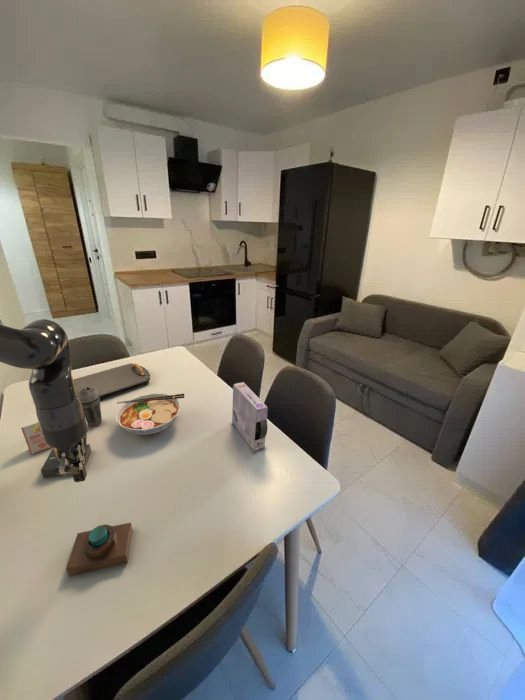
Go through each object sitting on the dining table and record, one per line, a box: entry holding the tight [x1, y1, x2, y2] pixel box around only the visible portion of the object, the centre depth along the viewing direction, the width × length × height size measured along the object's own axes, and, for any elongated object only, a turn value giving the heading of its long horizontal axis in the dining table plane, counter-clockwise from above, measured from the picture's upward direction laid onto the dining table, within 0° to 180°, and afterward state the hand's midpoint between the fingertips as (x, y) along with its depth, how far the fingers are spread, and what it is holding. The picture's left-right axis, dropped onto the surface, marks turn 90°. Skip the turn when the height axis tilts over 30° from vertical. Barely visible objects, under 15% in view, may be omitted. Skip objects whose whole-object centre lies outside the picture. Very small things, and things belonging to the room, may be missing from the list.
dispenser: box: [65, 522, 134, 578], centre depth 68 cm, size 12×8×5 cm, turn 104°
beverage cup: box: [78, 379, 103, 428], centre depth 107 cm, size 7×7×20 cm
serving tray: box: [73, 363, 151, 398], centre depth 134 cm, size 39×23×6 cm, turn 133°
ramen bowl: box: [115, 393, 185, 436], centre depth 109 cm, size 25×23×8 cm
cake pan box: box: [231, 381, 269, 452], centre depth 104 cm, size 19×5×18 cm, turn 31°
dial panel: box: [40, 443, 92, 478], centre depth 92 cm, size 11×9×3 cm
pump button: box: [89, 525, 108, 547], centre depth 66 cm, size 4×4×2 cm
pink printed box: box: [20, 421, 52, 456], centre depth 97 cm, size 4×7×10 cm, turn 132°
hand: (81, 478), depth 66 cm, fingers closed
